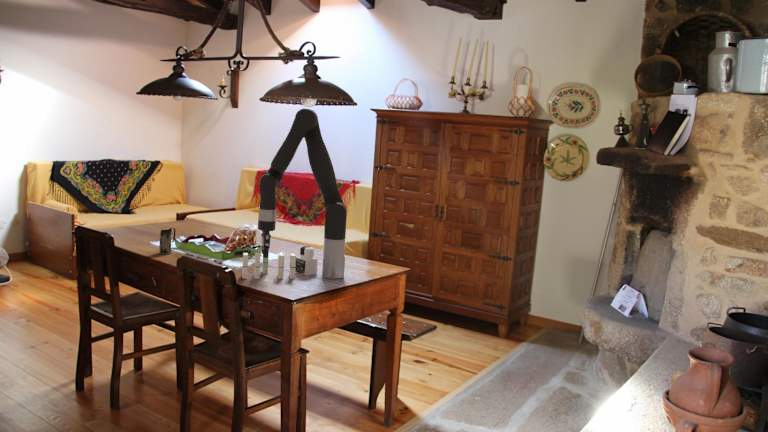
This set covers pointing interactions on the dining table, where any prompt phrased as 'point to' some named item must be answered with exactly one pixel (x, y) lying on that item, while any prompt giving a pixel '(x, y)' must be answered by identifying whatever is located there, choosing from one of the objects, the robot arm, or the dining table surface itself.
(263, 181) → the robot arm
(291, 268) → the domino
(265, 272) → the domino
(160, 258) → the dining table surface
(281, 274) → the domino
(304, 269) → the medicine bottle
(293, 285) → the dining table surface
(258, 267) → the domino
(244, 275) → the domino
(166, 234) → the mug
